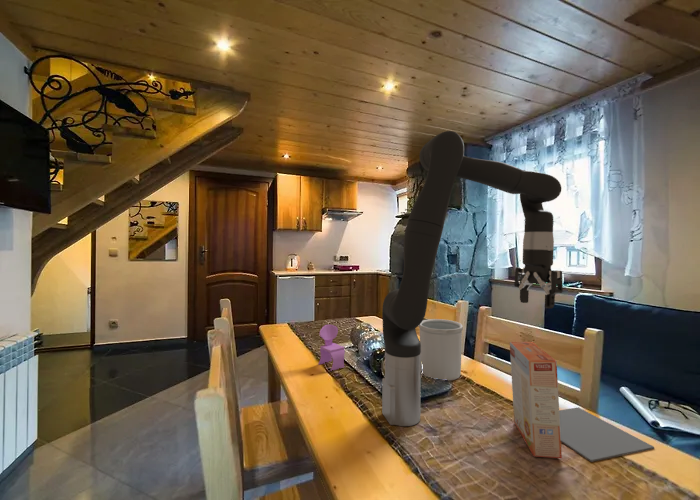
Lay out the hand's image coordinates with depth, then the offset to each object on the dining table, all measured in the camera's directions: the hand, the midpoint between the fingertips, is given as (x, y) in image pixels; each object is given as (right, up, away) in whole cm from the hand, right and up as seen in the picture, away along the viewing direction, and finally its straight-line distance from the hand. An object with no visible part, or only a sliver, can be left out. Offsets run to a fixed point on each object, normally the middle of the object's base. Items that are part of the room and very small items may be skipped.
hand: (536, 305), depth 92 cm
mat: (+4, -28, -13) cm, 32 cm away
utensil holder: (-21, -28, +22) cm, 42 cm away
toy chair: (-60, -28, +29) cm, 72 cm away
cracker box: (-10, -28, -17) cm, 34 cm away
